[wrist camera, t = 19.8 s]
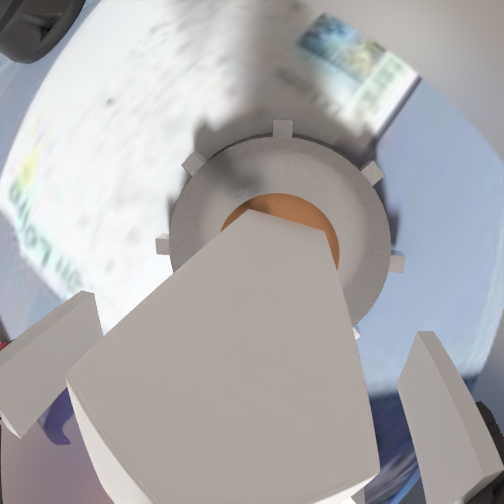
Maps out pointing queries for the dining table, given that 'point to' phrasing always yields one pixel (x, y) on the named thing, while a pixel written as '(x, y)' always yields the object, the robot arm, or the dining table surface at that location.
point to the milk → (232, 380)
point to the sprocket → (290, 207)
